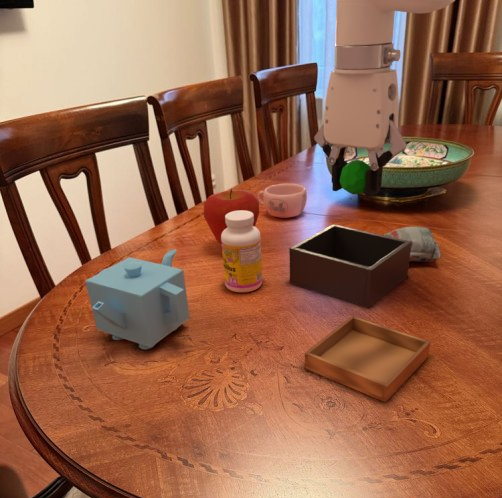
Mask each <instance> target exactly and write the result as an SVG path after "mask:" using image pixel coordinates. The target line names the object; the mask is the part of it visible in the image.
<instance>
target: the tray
mask: <svg viewBox="0 0 502 498" xmlns="http://www.w3.org/2000/svg"><path fill="white" fill-rule="evenodd" d="M430 347H431V341H429V340H426V339H423V338H421V337H418V336H414V335H412V334H409V333H405V332H403V331H399V330H398V329H397V330H396V329H393V328H390V327H387V326H384V325H382V324H378V323H375V322H372V321H369V320H366V319H364V318H361V317H358V316H354V315H351V316H349V317H348V318H347V319H346V320H345V321H344V322H342V323H341V324H339V326H337V327H336V328H335V329H333V330H332V331H331V332H329V333H328V334H327V335H326V336H324V337H323V338H321V339H320V340H319V341H318V342H317V343H316V344H314V345H313V346H312V347H310V348H309V349H308V350H306V351H305V352H304V369H305V370H308V371H310V372H313V373H315V374H318V375H319V376H321V377H324V378H327V379H329V380H331V381H334V382H336V383H338V384H341V385H343V386H344V387H345V386H346V387H347V388H350V389H353V390H355V391H357V392H360V393H361V394H364V395H367V396H369V397H371V398H374V399H376V400H378V401H380V402H383V403H387V402H388V401H389V399H391V397H392V396H394V394H395V393H396V392H397V391H398V390H399V389H400V388H401V387H402V386H403V384H404V383H405V382H407V380H409V379H410V377H411V376H412V375H413V374H414V373H415V372H416V371H417V370H418V369H419V367H421V365H423V364H424V362H425V361H426V360H427V359H428V358H429V355H430Z"/></svg>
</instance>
